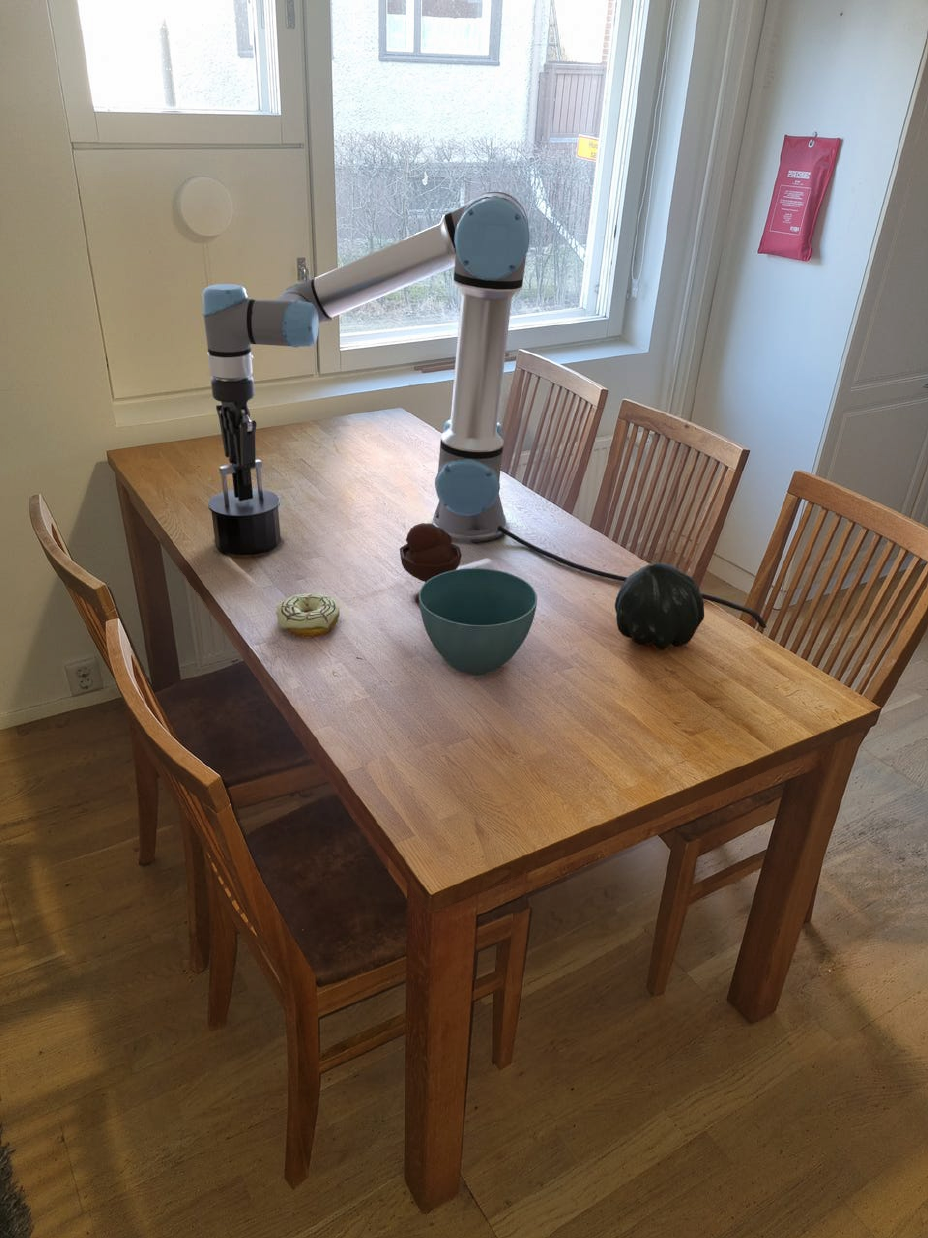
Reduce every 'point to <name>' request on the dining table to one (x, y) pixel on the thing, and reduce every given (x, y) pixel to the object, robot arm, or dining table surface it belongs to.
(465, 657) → the teal bowl
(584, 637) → the dining table surface
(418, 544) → the ice cream bowl
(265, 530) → the pot
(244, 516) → the lid
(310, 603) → the decorated donut
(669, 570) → the squash
